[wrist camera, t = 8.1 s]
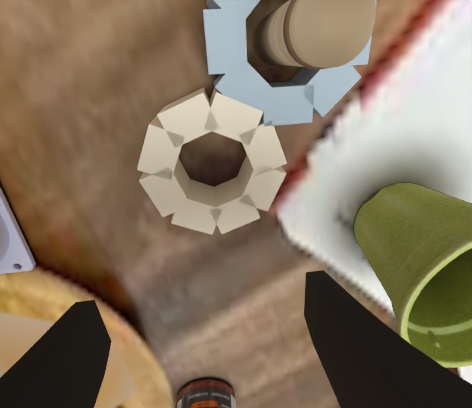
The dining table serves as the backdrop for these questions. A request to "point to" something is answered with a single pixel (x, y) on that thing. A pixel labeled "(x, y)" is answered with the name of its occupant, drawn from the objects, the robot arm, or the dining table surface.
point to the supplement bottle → (206, 395)
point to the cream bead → (199, 194)
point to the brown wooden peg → (315, 33)
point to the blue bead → (254, 86)
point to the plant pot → (423, 266)
